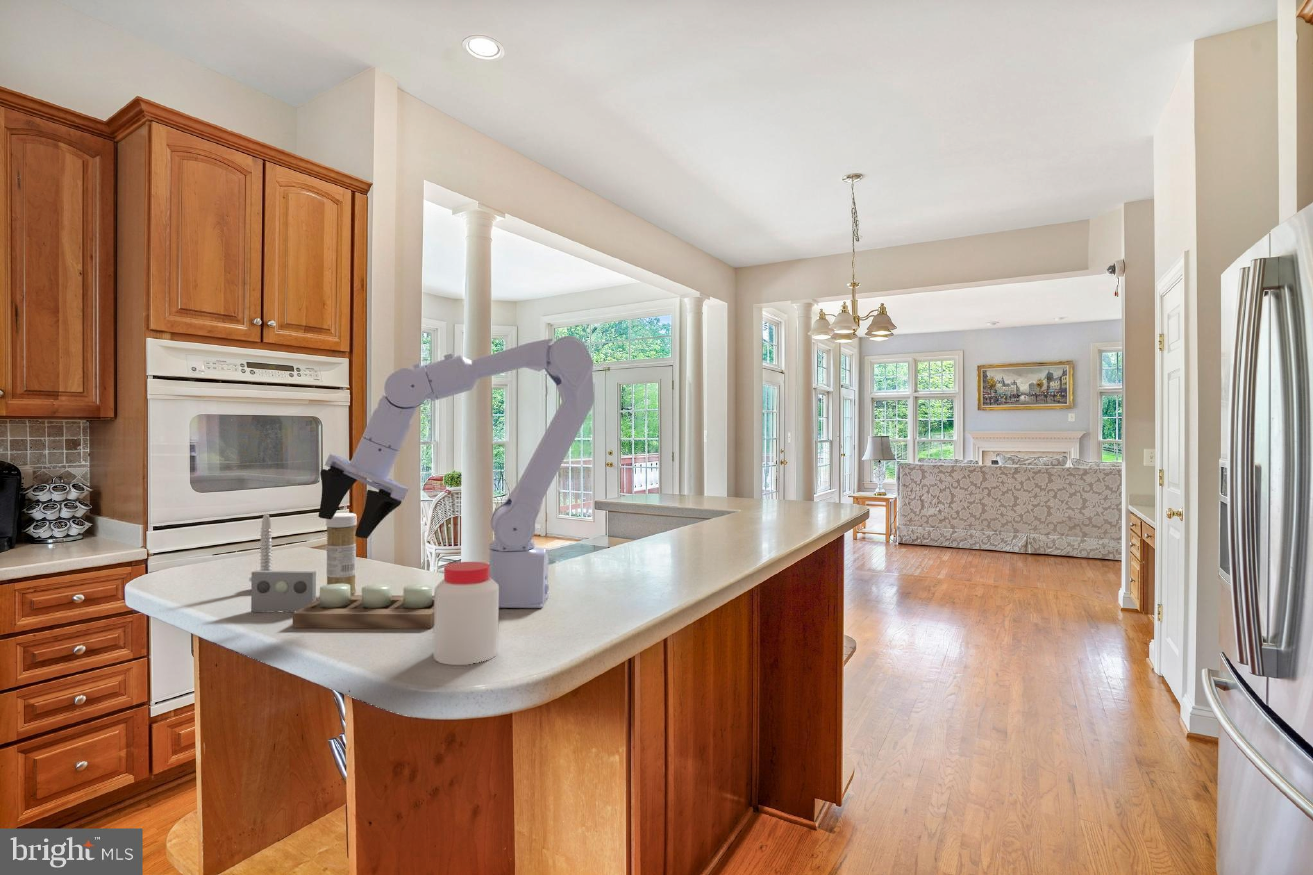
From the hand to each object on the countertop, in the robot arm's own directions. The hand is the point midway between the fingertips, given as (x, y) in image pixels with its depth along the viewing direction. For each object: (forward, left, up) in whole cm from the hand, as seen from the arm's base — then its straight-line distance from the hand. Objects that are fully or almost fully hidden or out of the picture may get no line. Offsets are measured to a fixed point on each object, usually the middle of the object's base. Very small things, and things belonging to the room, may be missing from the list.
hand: (342, 527), depth 96 cm
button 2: (-12, +2, -11) cm, 16 cm away
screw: (+19, -14, -13) cm, 27 cm away
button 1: (0, +2, -11) cm, 11 cm away
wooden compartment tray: (-6, +2, -13) cm, 14 cm away
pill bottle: (-23, +17, -13) cm, 32 cm away
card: (+9, -1, -13) cm, 16 cm away
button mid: (-6, +2, -11) cm, 13 cm away
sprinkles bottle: (+5, -11, -13) cm, 18 cm away
